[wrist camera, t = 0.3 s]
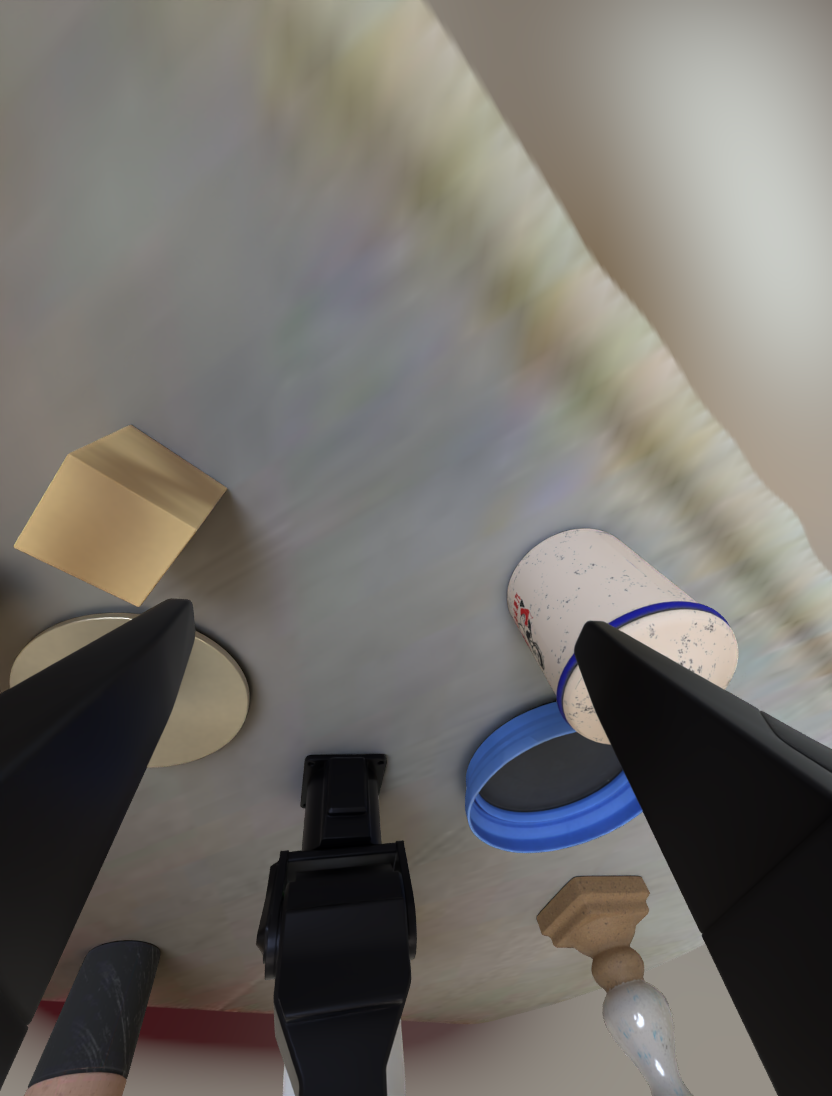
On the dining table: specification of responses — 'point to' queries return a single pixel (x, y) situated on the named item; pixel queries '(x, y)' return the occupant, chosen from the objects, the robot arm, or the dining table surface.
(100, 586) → the cube
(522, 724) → the bowl
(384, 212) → the dining table surface
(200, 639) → the lid
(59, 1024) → the travel mug
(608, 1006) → the candle holder
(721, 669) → the teacup with lid
